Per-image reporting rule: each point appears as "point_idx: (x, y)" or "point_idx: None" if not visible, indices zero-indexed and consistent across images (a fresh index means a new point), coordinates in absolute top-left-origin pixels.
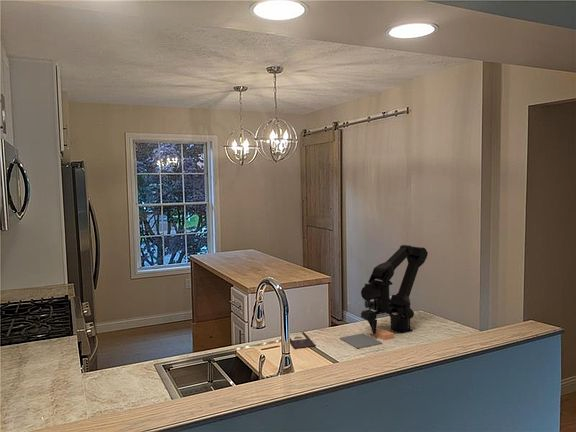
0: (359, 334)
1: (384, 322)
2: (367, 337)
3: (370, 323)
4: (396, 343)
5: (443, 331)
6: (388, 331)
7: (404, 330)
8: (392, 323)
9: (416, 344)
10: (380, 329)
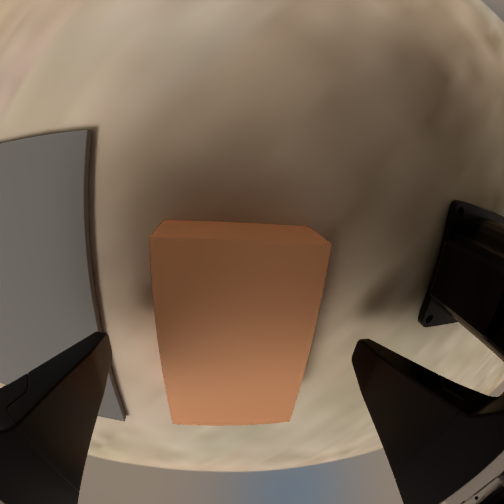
0: (35, 152)
1: (481, 47)
2: (57, 281)
3: (7, 415)
4: (217, 443)
5: (496, 361)
6: (295, 372)
7: (451, 316)
8: (396, 411)
9: (297, 466)
10: (278, 268)
